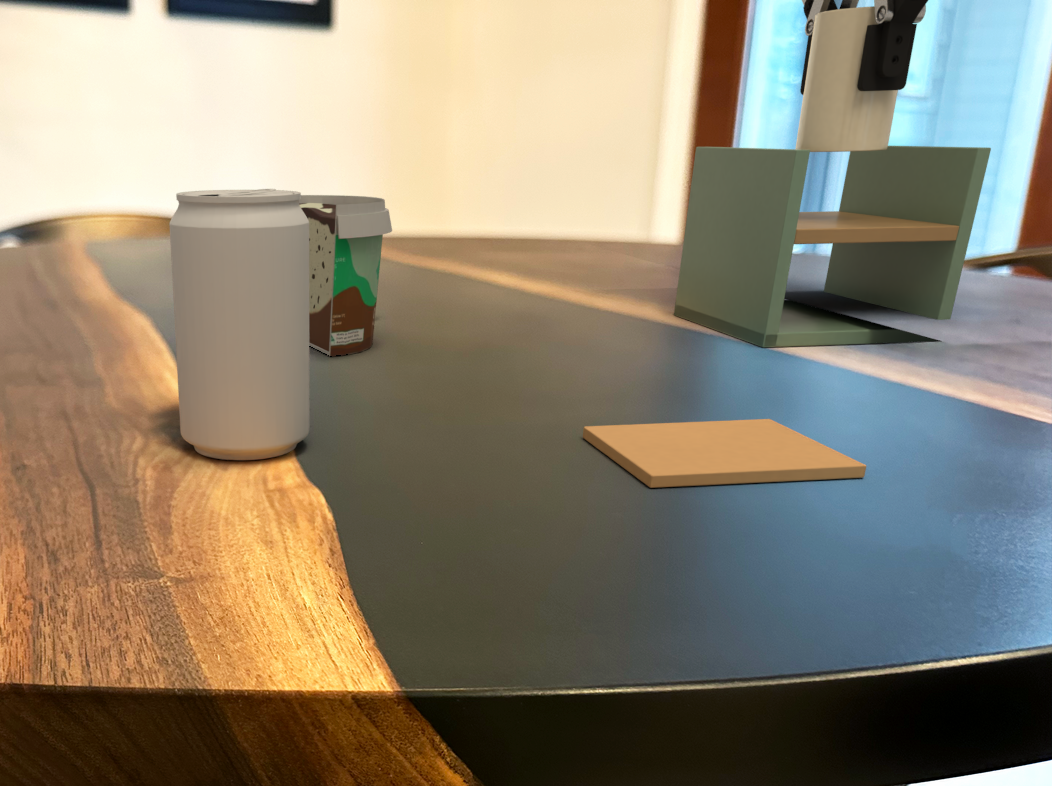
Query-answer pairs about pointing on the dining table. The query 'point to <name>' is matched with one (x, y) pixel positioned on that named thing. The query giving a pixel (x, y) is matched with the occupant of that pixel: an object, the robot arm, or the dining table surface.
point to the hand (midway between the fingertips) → (850, 90)
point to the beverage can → (241, 321)
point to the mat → (719, 453)
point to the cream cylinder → (842, 89)
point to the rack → (826, 241)
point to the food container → (344, 269)
